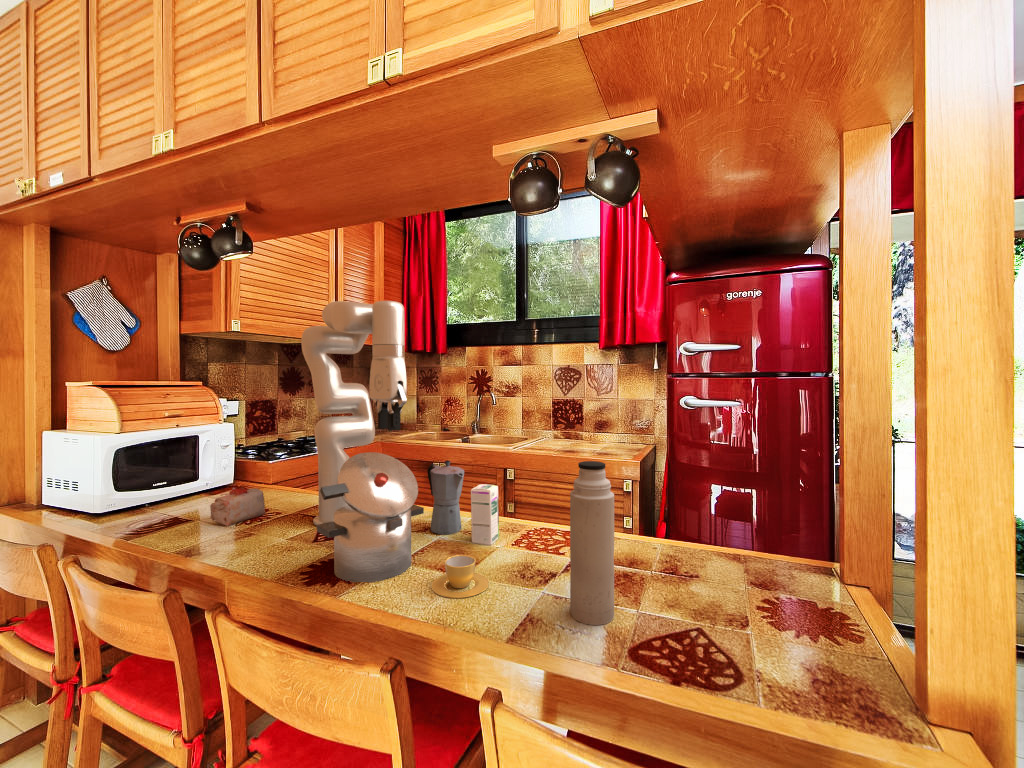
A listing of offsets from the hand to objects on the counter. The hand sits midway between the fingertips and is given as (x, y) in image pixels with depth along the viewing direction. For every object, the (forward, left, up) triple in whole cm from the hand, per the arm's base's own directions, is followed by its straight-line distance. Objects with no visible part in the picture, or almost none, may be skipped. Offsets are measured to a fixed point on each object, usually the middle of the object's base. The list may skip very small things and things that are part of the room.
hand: (389, 428), depth 111 cm
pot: (+2, -5, -31) cm, 32 cm away
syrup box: (+8, +24, -31) cm, 40 cm away
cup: (+24, +2, -32) cm, 40 cm away
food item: (-60, -16, -32) cm, 69 cm away
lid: (+4, -7, -12) cm, 15 cm away
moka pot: (-7, +22, -31) cm, 39 cm away
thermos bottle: (+50, +12, -31) cm, 61 cm away
